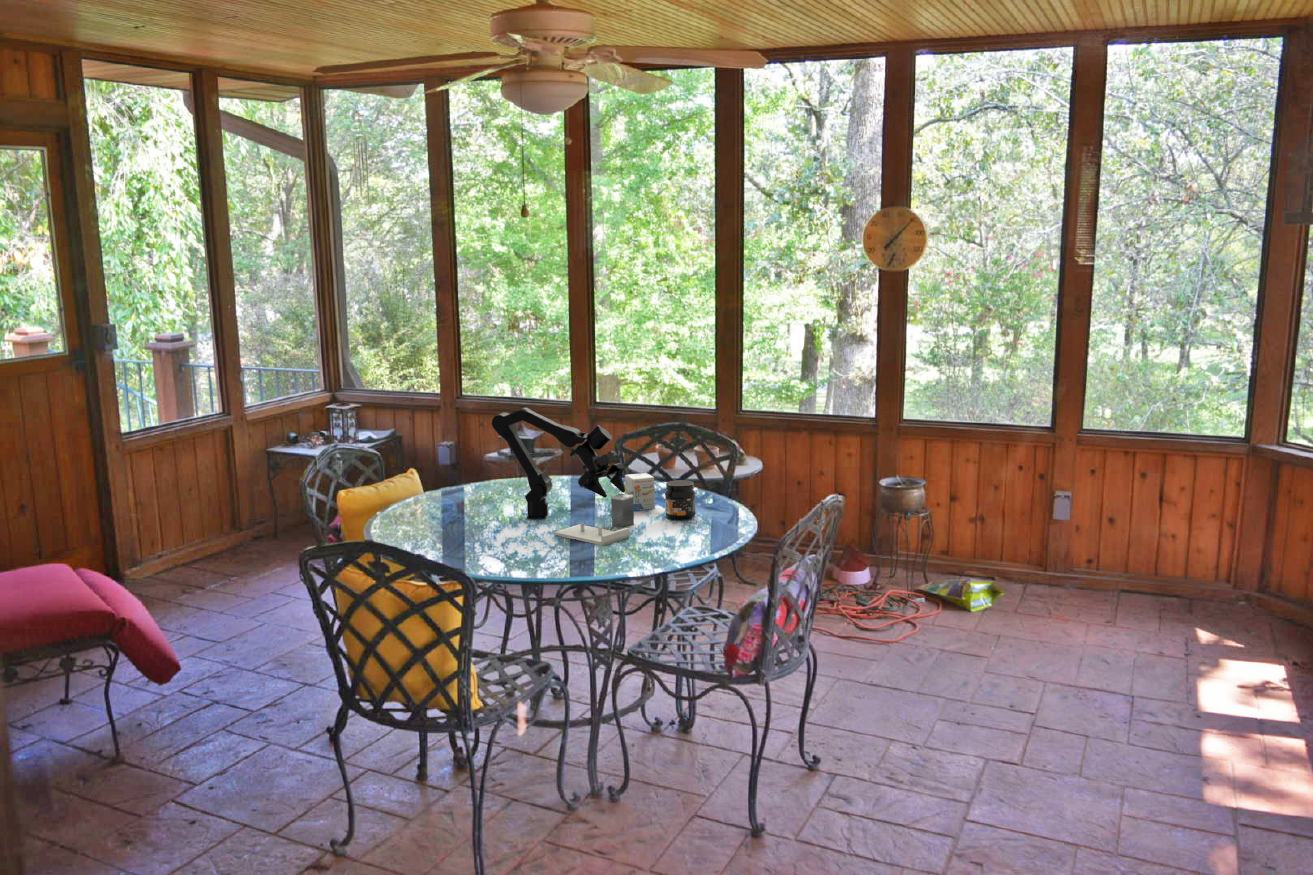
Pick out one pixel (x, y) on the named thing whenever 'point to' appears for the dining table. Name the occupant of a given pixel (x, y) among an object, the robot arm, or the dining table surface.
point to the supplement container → (680, 500)
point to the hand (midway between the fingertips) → (615, 494)
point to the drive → (622, 510)
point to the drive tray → (593, 534)
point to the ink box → (641, 490)
